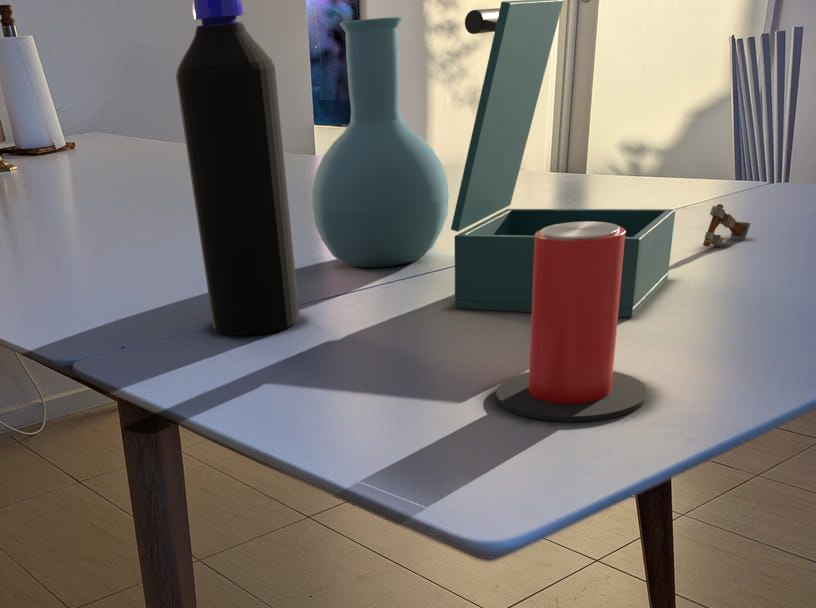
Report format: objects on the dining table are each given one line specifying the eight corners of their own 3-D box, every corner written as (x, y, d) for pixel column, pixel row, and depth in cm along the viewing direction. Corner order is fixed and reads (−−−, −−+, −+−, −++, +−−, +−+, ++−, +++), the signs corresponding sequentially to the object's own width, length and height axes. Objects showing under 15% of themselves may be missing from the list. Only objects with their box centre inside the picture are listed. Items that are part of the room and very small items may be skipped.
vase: (466, 263, 109) (467, 9, 95) (331, 280, 107) (311, 23, 93) (425, 239, 123) (420, 15, 109) (305, 255, 120) (284, 27, 106)
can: (627, 387, 68) (643, 224, 62) (578, 409, 65) (589, 240, 59) (561, 372, 72) (570, 218, 66) (512, 393, 69) (516, 233, 63)
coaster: (677, 389, 68) (677, 384, 67) (586, 433, 62) (587, 428, 62) (556, 363, 75) (556, 358, 75) (465, 401, 69) (465, 395, 69)
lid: (563, 0, 86) (511, -13, 88) (510, 3, 76) (451, -11, 78) (510, 205, 98) (465, 191, 100) (457, 232, 88) (408, 216, 89)
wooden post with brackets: (694, 242, 104) (708, 200, 103) (723, 260, 110) (736, 220, 108) (709, 244, 103) (723, 201, 102) (737, 261, 109) (751, 221, 107)
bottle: (289, 308, 97) (256, -14, 82) (308, 327, 90) (275, -21, 75) (207, 320, 96) (158, -5, 80) (220, 341, 89) (168, -12, 73)
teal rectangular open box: (667, 280, 95) (675, 209, 91) (631, 317, 84) (639, 238, 80) (505, 274, 102) (506, 208, 99) (454, 308, 92) (454, 235, 88)
